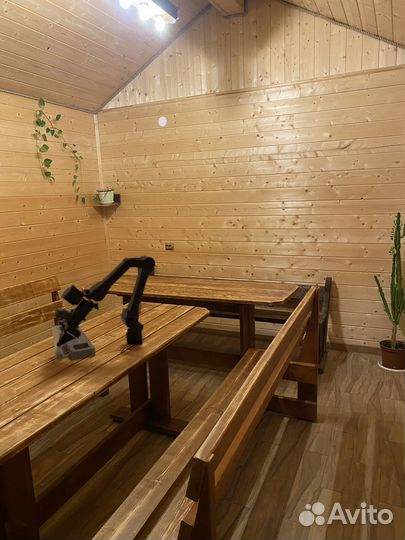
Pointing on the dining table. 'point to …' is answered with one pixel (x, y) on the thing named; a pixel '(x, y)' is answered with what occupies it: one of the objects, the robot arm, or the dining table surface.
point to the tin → (139, 307)
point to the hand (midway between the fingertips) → (55, 342)
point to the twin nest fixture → (80, 347)
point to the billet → (56, 336)
